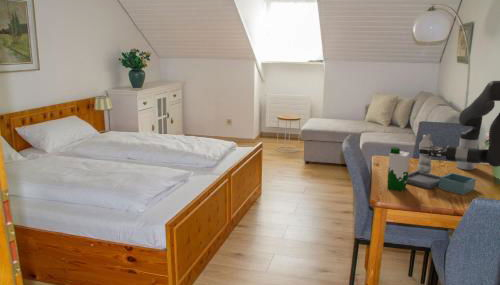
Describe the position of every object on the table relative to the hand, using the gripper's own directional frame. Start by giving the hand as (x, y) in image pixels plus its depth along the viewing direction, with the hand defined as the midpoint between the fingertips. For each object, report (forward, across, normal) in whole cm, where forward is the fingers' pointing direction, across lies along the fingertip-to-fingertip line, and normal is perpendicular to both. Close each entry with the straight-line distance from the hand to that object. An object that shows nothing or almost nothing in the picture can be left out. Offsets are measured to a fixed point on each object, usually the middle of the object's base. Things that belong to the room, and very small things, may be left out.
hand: (420, 149), depth 218 cm
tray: (-2, 0, +17) cm, 17 cm away
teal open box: (-18, +2, +17) cm, 25 cm away
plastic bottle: (-2, 0, +12) cm, 12 cm away
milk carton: (+7, +17, +17) cm, 25 cm away
